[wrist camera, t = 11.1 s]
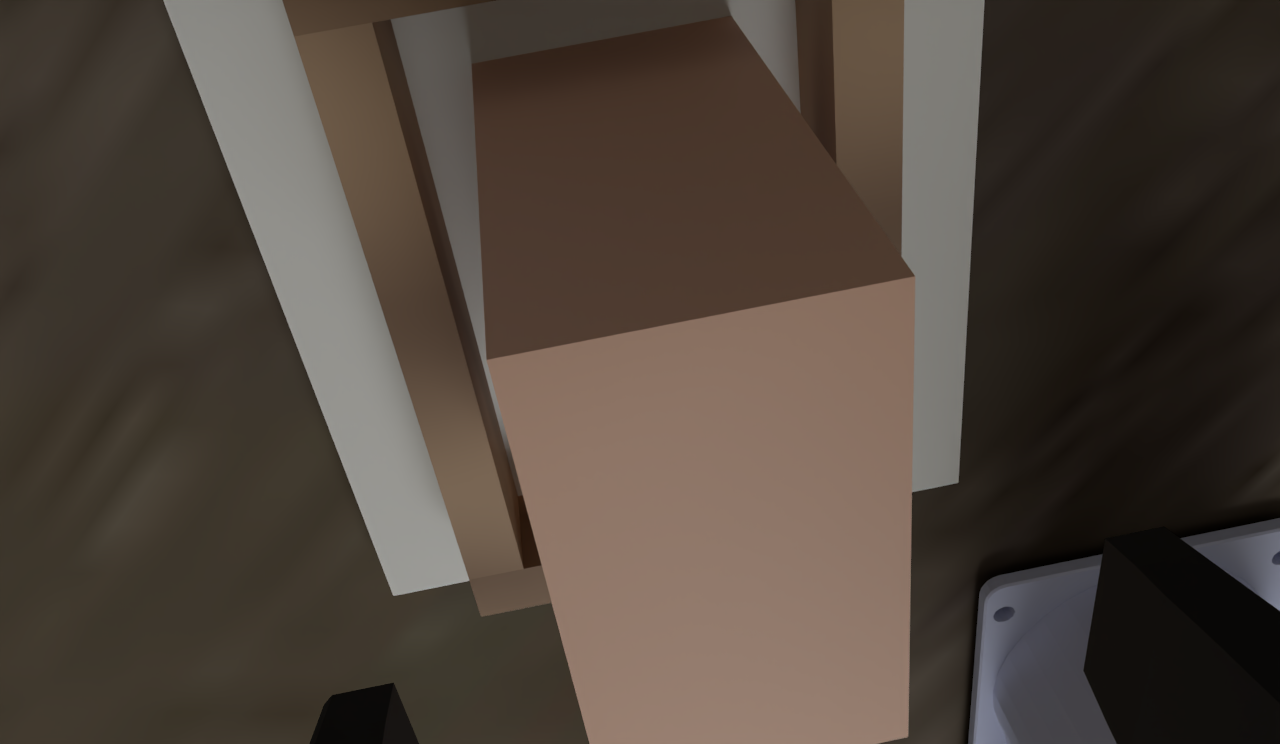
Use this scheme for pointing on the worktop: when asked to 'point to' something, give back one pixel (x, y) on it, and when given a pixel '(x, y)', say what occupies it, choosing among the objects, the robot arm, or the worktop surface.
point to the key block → (699, 391)
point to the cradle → (450, 229)
